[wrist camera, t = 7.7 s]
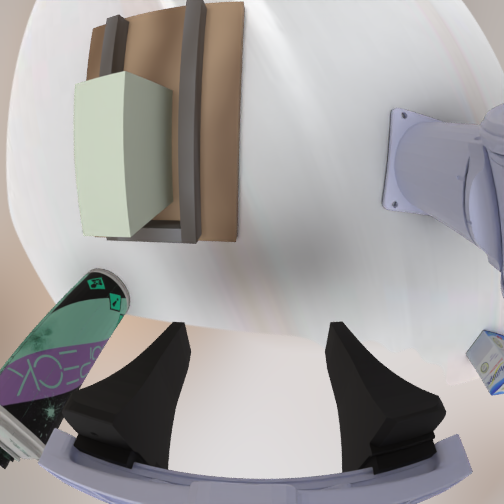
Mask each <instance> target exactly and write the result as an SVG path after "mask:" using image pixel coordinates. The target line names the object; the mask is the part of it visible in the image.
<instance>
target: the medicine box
mask: <svg viewBox="0 0 504 504" xmlns="http://www.w3.org/2000/svg"><path fill="white" fill-rule="evenodd" d="M466 355H467V357H468V358H469V360H470V362H471V363H472V365H473V366H474V368H475V369H476V371H477V373H478V374H479V376H480V377H481V379H482V381H483V383H484V384H485V386H486V388H487V389H488V391H489V393H490V394H491V395H498V394H504V336H503V335H499V334H495V333H492V332H488V331H482V333H481V334H480V335H479V337H478V338H477V339H476V341H475V342H474V343H473V345H472V346H471V347H470V349H469V350H468V351H467V353H466Z"/></svg>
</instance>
